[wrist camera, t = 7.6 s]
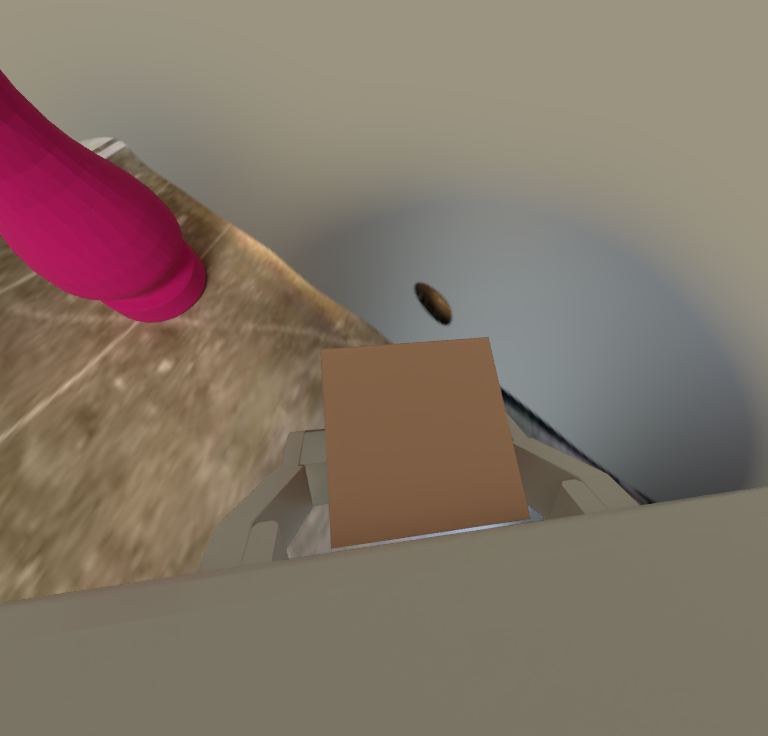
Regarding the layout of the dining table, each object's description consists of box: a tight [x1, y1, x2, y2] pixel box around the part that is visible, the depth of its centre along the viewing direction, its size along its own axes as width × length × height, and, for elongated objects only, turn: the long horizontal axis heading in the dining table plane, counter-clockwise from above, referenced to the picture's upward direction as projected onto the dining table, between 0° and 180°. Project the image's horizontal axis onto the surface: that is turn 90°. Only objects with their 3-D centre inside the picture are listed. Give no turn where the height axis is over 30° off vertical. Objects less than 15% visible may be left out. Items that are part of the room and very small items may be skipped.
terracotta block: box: [321, 337, 530, 549], centre depth 11 cm, size 4×4×8 cm
